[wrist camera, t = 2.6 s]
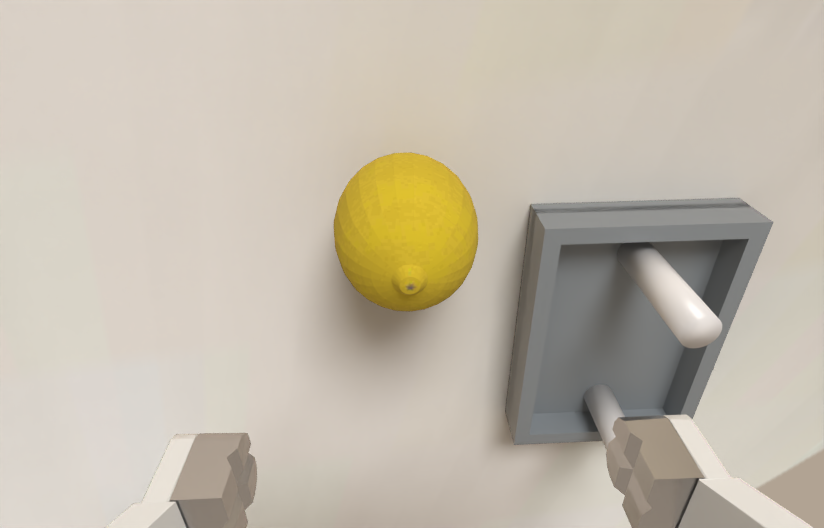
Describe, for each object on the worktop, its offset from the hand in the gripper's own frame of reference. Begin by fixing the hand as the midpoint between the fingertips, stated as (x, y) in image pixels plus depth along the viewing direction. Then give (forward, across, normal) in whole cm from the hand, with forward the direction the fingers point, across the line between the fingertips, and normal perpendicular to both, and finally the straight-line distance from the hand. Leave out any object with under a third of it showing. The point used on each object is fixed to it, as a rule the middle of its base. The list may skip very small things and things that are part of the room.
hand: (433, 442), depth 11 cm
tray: (+14, -11, +8) cm, 19 cm away
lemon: (+14, 0, 0) cm, 14 cm away
